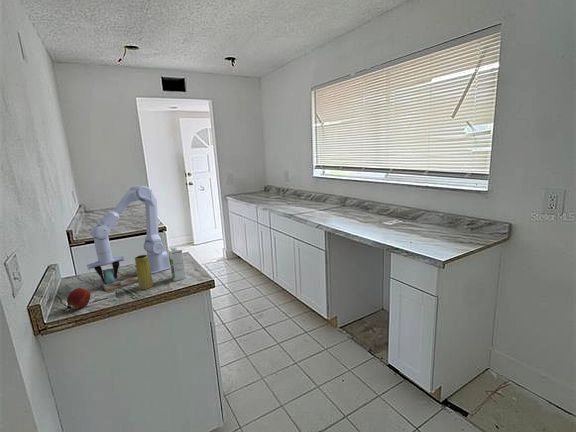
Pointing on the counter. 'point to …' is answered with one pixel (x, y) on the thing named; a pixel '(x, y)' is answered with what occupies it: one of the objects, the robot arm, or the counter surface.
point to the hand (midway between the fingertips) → (109, 279)
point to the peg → (109, 276)
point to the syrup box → (176, 263)
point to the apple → (79, 298)
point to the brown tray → (121, 281)
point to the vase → (143, 272)
